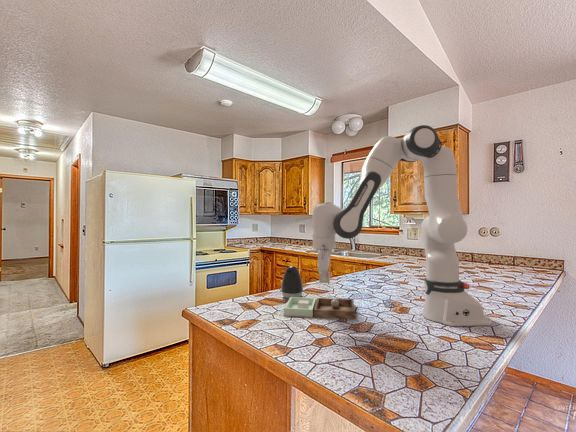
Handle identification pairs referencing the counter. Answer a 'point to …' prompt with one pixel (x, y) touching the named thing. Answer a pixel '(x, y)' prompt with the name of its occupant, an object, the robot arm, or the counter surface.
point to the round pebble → (334, 303)
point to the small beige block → (303, 304)
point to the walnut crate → (327, 311)
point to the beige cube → (327, 278)
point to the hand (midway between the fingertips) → (324, 279)
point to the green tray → (293, 309)
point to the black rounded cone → (291, 283)
